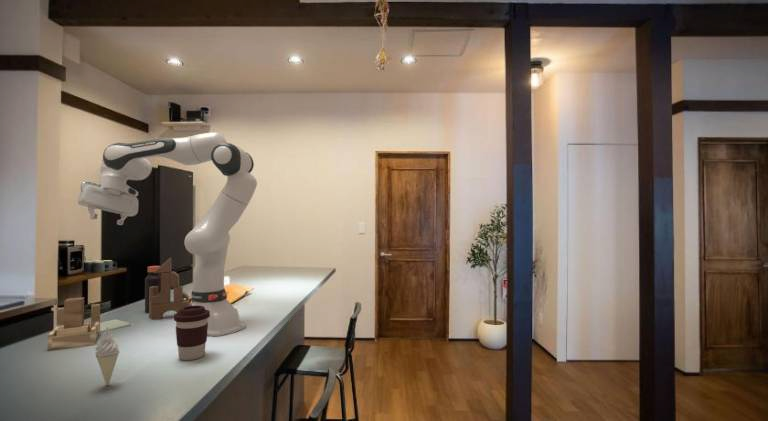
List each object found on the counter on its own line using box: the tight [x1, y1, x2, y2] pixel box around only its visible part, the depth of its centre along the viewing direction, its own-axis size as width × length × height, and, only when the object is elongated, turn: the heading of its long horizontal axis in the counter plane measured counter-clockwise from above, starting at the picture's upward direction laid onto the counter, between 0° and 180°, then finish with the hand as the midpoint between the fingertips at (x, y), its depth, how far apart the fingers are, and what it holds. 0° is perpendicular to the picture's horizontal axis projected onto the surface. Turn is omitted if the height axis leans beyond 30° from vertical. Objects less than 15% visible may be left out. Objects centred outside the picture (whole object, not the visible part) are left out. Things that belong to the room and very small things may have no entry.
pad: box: [90, 318, 132, 333], centre depth 148 cm, size 12×12×1 cm
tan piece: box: [47, 303, 101, 352], centre depth 131 cm, size 12×12×11 cm
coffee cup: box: [173, 305, 210, 361], centre depth 118 cm, size 10×10×15 cm
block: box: [63, 297, 85, 329], centre depth 129 cm, size 4×4×9 cm
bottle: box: [144, 265, 161, 314], centre depth 171 cm, size 7×7×20 cm
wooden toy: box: [148, 257, 191, 320], centre depth 163 cm, size 16×7×25 cm, turn 111°
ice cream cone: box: [94, 327, 120, 386], centre depth 98 cm, size 5×5×15 cm
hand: (107, 221), depth 146 cm, fingers open, 8 cm apart
